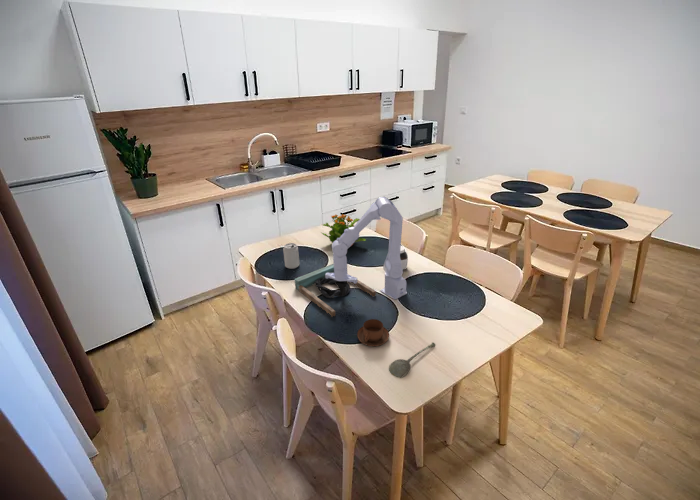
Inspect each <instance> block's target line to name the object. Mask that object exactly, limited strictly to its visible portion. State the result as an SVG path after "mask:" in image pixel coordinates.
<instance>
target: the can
mask: <svg viewBox="0 0 700 500" xmlns="http://www.w3.org/2000/svg"><path fill="white" fill-rule="evenodd" d="M282 249H283V250H282V252H283V261H284V267H285V268H287V269H290V270H293V269H296V268H298V267H299V266H300V256H299V254H300V253H299V246H298V245H297V244H296V243H293V242H289V243H286V244H285V245H283V248H282Z"/></svg>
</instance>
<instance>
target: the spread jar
mask: <svg viewBox="0 0 700 500" xmlns="http://www.w3.org/2000/svg"><path fill="white" fill-rule="evenodd" d="M400 259H401V267H402V269H403V271H405V270H406V269H407V268H408V262H409V259H408V253H407V251H406V248H405V246H404V245H401V249H400ZM383 272H384V273H385V272H386V267H385V265H384V264H383Z"/></svg>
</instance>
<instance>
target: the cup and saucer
mask: <svg viewBox="0 0 700 500" xmlns="http://www.w3.org/2000/svg"><path fill="white" fill-rule="evenodd" d="M356 337H357V339H358V341H359V342H360V343H361V344H363V345H366V346H369V347H379V346H381V345H384V344H386V343H387V342H388V341H389V339H390V332H389V330H388V329H387V328H386V327H385V326H384V323H383V322H382V321H381V320H379V319H376V318H370V319H367V320H366V321H364V323H363V325H362V326H361V327H359V329H358V330H357V333H356Z"/></svg>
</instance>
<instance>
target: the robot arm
mask: <svg viewBox="0 0 700 500" xmlns="http://www.w3.org/2000/svg"><path fill="white" fill-rule="evenodd" d="M381 218H382V219H384V220H387V221H388V222H389V234H388V235H389V237H388V250H387V252H388V253H387V254H386V258H385V259H384V263H383V266H384V265H385V267H386V272H385V271H384V287H383V288H382V289H381V288H380V292H381V293H384V294H385V295H386V296H388V297H389V298H392V299H393V300H397V299H399V298H401V297H403V296H405V295H407V294H408V292H407V280H406V279H405V278H404V277H403V276H402V275H403V273H404V270H403V269H402V267H401V259H400V249H401V246H402V234H403V220H404V219H403V216H402V214H401V212H400V211H399V209H398V208H397V207H396V206H395V203H394V202H393V201H392V200H391V199H389V198H387V197H386V196H380V197H378V198H376V200H375V201H374V202H373V203H372V204H370V206H369V207H368V209H367V210H366V211H365V213H364V214H362V216H361V217H360V218H359V219H360V220H359V221H357V222H356V223H355V224H354V227H349V228H348V229H345V230H344V233H343V234H342V236H341V237H340V238H337V240H335V241H334V242H333V243H332V242H331V243H332V244H331V250H332V253H333V254H332V260H333V261H332V262H333V263H332V264H334V273H326V274H325V277H326V278H327V279H328V278H331V279H334V280H337V281H336V283H335V285H336V286H337V288H338V291H340V292H341V295H344V294H345V287H346V284H347V282H348V283H350V282H354V284H356V283H357V282H358V280H359V279H358V277H355V276H352V275H350V274H349V273H348V259H347V258H348V257H347V253H348V249H349V248H350V247H352V246H353V245H354V244H355V243H356V242H355V241H356V240H358V239H359V238H360V232H361V231H363V230H364V229H365V228H366V227H367V226H368V225H370V223H371V222H372V221H373V220H374V221H377V220H378V221H379V220H381ZM353 243H354V244H353ZM352 244H353V245H352ZM351 245H352V246H351ZM348 274H349V275H348ZM354 284H353V285H354Z"/></svg>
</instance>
